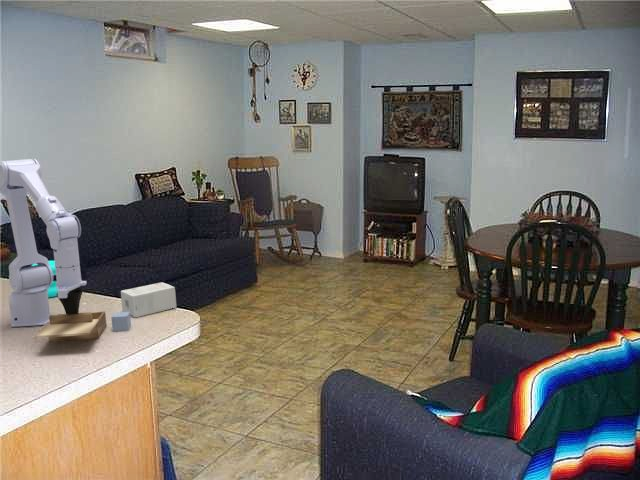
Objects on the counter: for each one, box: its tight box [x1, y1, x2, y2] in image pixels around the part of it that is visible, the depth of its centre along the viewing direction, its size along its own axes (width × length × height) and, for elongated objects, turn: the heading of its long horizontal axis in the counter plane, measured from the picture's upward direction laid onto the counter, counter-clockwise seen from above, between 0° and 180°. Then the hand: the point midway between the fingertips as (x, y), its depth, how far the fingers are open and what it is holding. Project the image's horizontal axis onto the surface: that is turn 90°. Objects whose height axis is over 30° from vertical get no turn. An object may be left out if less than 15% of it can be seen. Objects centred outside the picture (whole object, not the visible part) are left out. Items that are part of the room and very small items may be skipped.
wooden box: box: [48, 311, 107, 342], centre depth 173 cm, size 12×10×4 cm
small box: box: [120, 281, 177, 318], centre depth 191 cm, size 8×6×13 cm
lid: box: [34, 312, 99, 339], centre depth 163 cm, size 12×10×2 cm
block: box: [111, 311, 132, 332], centre depth 176 cm, size 4×4×4 cm
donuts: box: [31, 260, 58, 299], centre depth 209 cm, size 10×10×10 cm
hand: (72, 318), depth 168 cm, fingers closed
